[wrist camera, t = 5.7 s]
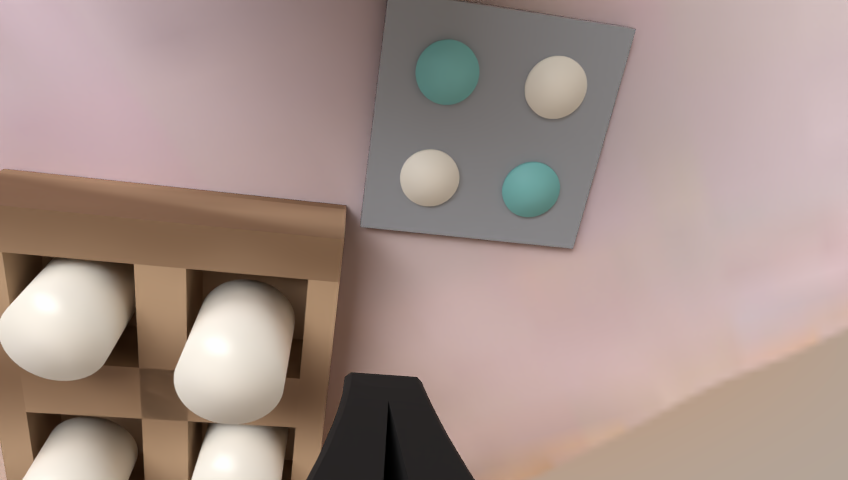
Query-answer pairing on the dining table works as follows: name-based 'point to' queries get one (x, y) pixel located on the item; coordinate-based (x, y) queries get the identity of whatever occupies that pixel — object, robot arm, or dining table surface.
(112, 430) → the button far left
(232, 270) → the board
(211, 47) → the dining table surface
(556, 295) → the dining table surface
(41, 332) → the button near left
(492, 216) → the card
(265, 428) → the button far right
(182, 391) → the button near right
